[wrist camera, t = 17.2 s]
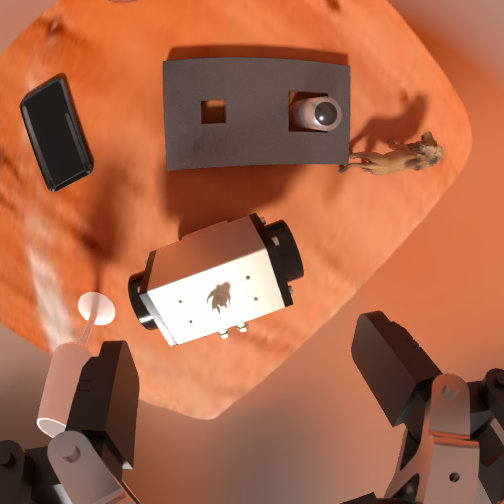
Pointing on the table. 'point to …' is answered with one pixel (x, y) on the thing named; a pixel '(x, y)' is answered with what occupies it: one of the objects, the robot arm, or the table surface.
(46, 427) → the champagne flute
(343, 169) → the lion figurine
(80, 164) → the phone
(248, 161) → the grey board with holes
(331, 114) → the flashlight
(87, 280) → the table surface
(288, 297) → the security camera
